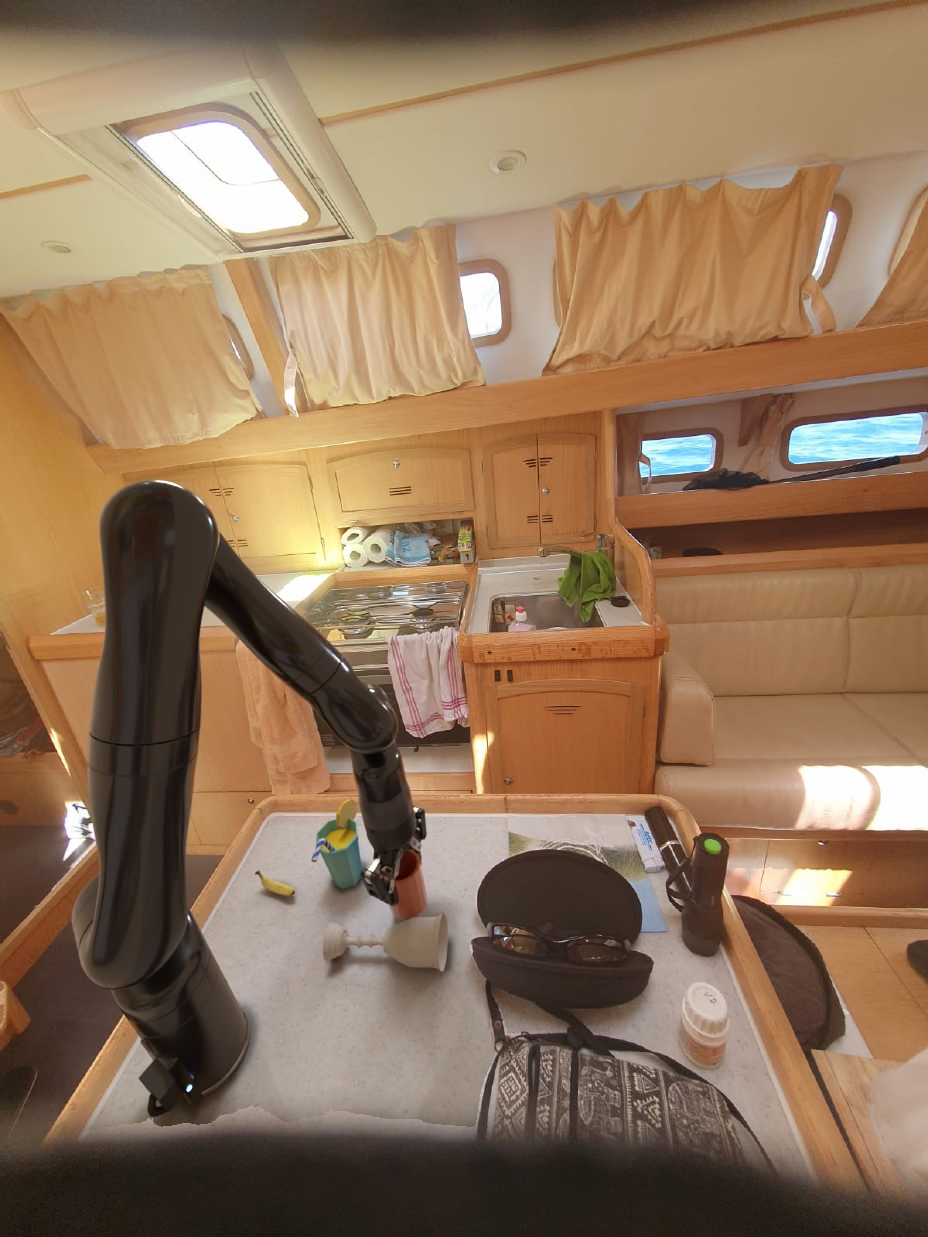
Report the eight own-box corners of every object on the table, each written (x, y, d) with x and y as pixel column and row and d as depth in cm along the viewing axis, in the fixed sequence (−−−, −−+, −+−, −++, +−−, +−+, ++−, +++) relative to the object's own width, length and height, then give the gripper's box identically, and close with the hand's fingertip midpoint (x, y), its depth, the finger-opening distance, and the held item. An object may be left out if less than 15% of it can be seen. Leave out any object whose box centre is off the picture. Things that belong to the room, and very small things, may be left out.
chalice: (329, 978, 69) (444, 980, 66) (315, 959, 65) (436, 960, 63) (343, 925, 75) (449, 925, 72) (331, 905, 71) (441, 904, 69)
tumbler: (413, 927, 71) (405, 889, 67) (382, 911, 74) (372, 874, 70) (433, 892, 76) (427, 855, 72) (403, 878, 79) (395, 842, 75)
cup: (354, 920, 75) (335, 858, 69) (310, 917, 76) (288, 856, 70) (378, 847, 88) (364, 789, 82) (340, 845, 89) (324, 788, 83)
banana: (258, 890, 82) (252, 875, 80) (265, 881, 83) (259, 866, 82) (293, 903, 79) (287, 888, 77) (300, 894, 80) (294, 879, 79)
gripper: (394, 768, 74) (409, 840, 80) (334, 837, 62) (358, 914, 69) (433, 781, 70) (445, 855, 77) (377, 856, 59) (397, 935, 66)
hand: (404, 883), depth 73 cm, fingers closed on tumbler, 6 cm apart
